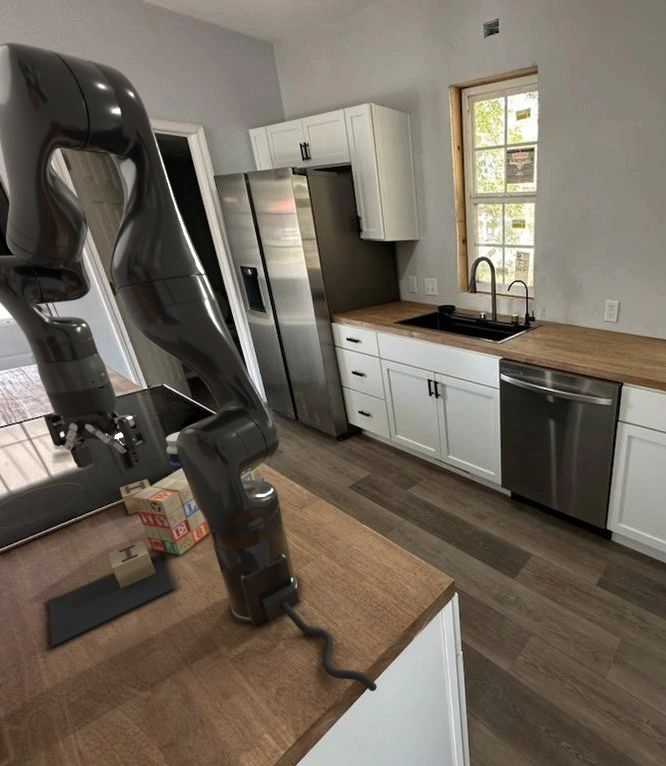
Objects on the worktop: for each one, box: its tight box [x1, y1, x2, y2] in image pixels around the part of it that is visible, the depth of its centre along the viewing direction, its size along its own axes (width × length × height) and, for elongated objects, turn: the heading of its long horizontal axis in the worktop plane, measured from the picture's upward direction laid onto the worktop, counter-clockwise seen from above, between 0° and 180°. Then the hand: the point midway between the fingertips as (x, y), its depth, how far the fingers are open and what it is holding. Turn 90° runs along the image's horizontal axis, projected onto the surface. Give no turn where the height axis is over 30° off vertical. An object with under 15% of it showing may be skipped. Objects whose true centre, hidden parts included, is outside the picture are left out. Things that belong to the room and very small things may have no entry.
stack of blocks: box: [133, 464, 265, 556], centre depth 83 cm, size 21×6×12 cm, turn 168°
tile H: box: [119, 478, 151, 515], centre depth 87 cm, size 4×4×5 cm
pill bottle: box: [165, 431, 182, 473], centre depth 98 cm, size 6×6×10 cm
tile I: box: [108, 540, 155, 589], centre depth 70 cm, size 4×4×5 cm
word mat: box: [48, 553, 175, 649], centre depth 67 cm, size 11×14×1 cm
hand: (109, 466), depth 73 cm, fingers open, 8 cm apart
